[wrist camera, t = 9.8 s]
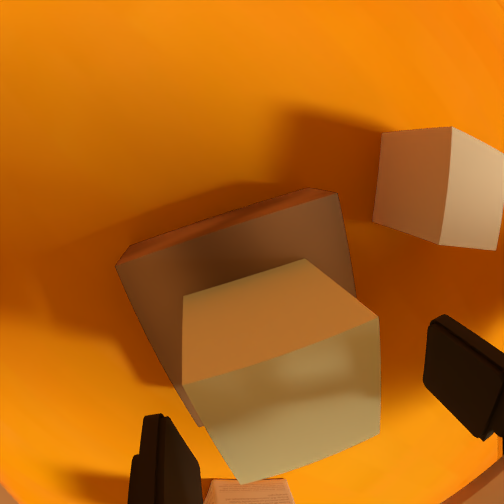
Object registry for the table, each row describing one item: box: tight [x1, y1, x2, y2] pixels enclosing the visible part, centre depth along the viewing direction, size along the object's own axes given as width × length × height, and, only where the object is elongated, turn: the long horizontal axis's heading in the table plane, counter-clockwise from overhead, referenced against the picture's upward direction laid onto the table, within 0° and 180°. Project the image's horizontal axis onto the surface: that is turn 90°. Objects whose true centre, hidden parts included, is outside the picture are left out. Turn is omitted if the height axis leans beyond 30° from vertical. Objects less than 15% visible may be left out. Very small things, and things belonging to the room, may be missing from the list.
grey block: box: [372, 127, 504, 251], centre depth 15 cm, size 6×6×6 cm
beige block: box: [182, 258, 381, 485], centre depth 11 cm, size 6×6×6 cm
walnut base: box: [115, 188, 357, 427], centre depth 16 cm, size 10×10×4 cm
